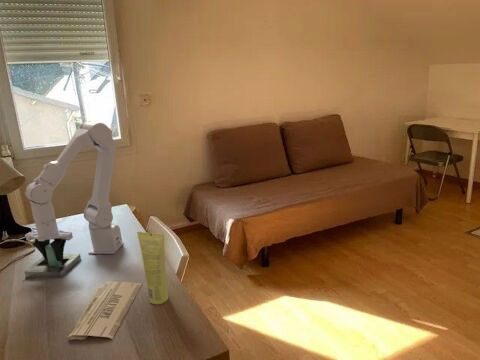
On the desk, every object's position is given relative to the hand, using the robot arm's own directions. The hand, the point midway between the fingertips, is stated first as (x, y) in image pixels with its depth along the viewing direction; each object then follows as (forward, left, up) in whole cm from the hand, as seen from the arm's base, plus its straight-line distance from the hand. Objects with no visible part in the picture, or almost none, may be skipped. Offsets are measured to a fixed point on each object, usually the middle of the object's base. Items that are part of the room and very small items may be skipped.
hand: (54, 259), depth 114 cm
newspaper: (-27, +20, -4) cm, 34 cm away
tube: (-40, +15, -3) cm, 43 cm away
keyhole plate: (+1, 0, -3) cm, 3 cm away
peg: (0, 0, -3) cm, 3 cm away
